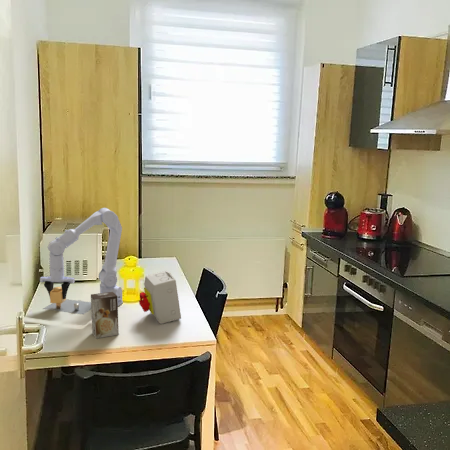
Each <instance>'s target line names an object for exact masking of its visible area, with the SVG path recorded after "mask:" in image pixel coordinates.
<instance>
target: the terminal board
mask: <svg viewBox="0 0 450 450" xmlns="http://www.w3.org/2000/svg"><path fill="white" fill-rule="evenodd" d="M75 303H79V311H74V304H75ZM42 310H49V311H56V312H62V313H71V314H77V315H85V314H86V313H88V312H90V311H91V301H84V300H76V299H67V298H66V300H65V301H64V302H63V303H61V308H60V309H56V303H50V304H49V305H47V306H45V307H43V308H42Z"/></svg>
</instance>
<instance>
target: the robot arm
mask: <svg viewBox="0 0 450 450" xmlns="http://www.w3.org/2000/svg"><path fill="white" fill-rule="evenodd" d="M103 224H105V226H106V227H107V228H108V229H109V234H108V241H107V246H106V247H107V248H106V251H105V258H104V264H103V265H102V266H101V270H100V272H99V274H98V279H99V281H100V283H99V293H106V292H114V293H115V294H116V295H117V301H118V307H119V306H120V305H122V304H123V303H124V301H123V289H122V286H118V285H117V283H118V277H117V259H118V254H119V249H120V243H121V237H122V231H123V226H122V224H121V222H120V219H119V216H118V215H117V213H115V212H114V211H113V210H110V209H109V208H108V207H102V208H101V207H100V209H99V210H97V211H95V212H93V213H92V214H91V215H90V216H88V218H86V219H85V220H84V221H82V222H81V223H80V224H79V225H77V227H75V228H69V229H65V230H64V233H62V234H61V235H59V236H58V237H57V236H56V238H55V239H53V240H51V241H50V242H49V243H48V246H47V249H48V251H49V254H48V255H49V276H41V277H39V282H40V283H44V284H43V285H44V287H45V289H46V291H47V293H48V296H49V297H50V291H52V290H53V288H54V284H55V283H61V284H60V287H62V292H63V299H65V298H66V299H67V293H68V290H69V288H70V286H71V284H74V283H75V282H76V281H75V277H71V276H65V262H64V261H65V260H64V253H65V249H67V248H69V247H70V246H71V245H73V244H74V243H76V242H77V241H78V240H79V237H80V235H83V234H84V232H86V231H88V230H89V229H91V228H93V226H96V225H97V226H99V225H100V226H101V225H103Z"/></svg>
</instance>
